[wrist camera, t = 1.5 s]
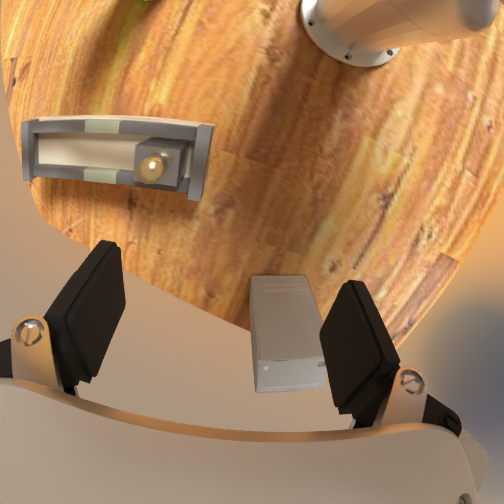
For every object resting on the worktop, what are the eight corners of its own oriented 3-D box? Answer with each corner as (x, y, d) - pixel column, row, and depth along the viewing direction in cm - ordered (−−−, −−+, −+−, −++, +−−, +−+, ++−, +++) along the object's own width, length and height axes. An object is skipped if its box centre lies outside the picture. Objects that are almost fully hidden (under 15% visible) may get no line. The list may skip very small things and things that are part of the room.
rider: (150, 137, 24) (126, 150, 19) (190, 142, 24) (174, 155, 19) (147, 168, 26) (124, 188, 20) (185, 173, 26) (170, 194, 21)
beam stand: (57, 112, 26) (21, 122, 19) (219, 120, 28) (211, 128, 22) (56, 162, 29) (23, 180, 23) (209, 178, 32) (200, 201, 26)
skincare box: (249, 306, 43) (250, 397, 29) (250, 268, 39) (252, 362, 25) (303, 307, 43) (321, 394, 29) (310, 269, 39) (337, 359, 26)
